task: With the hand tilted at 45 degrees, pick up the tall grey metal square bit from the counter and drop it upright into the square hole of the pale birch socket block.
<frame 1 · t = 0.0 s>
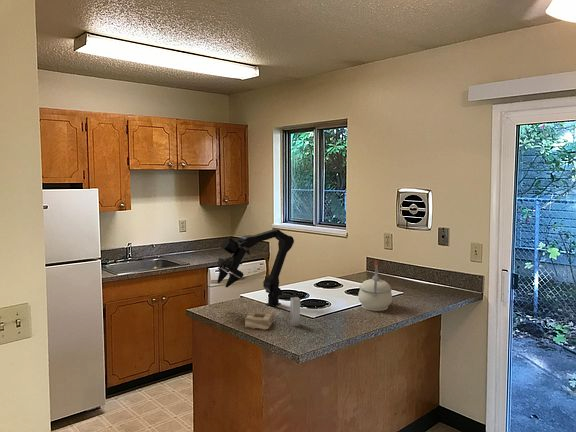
hand: (222, 285, 238), 15 cm above the worktop, tool tilted 35°, fingers open, 9 cm apart
socket block: (259, 324, 225), on the worktop
square bit: (294, 324, 226), on the worktop
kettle: (374, 306, 259), on the worktop
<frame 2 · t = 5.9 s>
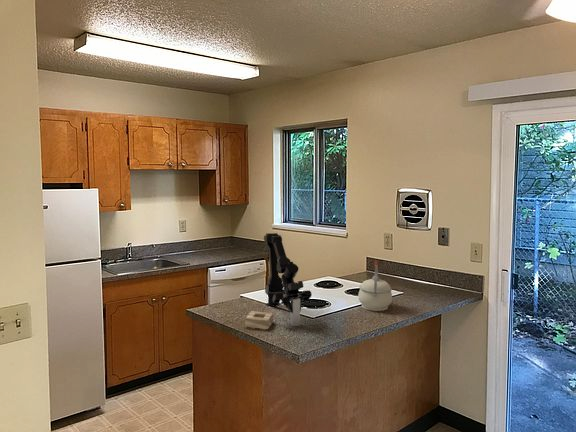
hand: (296, 312, 224), 7 cm above the worktop, tool tilted 45°, fingers closed on square bit, 4 cm apart
square bit: (294, 324, 226), on the worktop, touching gripper
everything else where it was.
when the fingers open (8 cm above the worktop, at t = 10.2 s): square bit drops 1 cm, resting on socket block.
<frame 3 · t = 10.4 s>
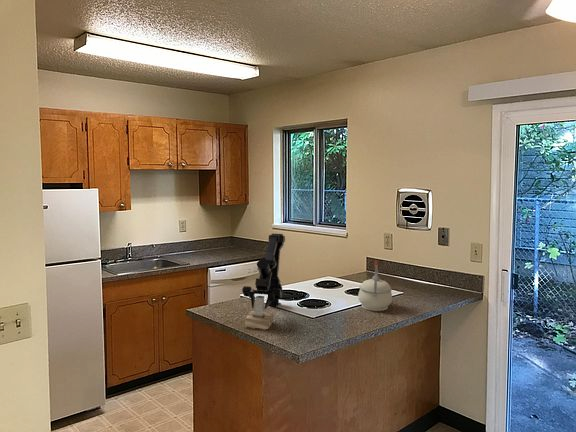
hand: (258, 308, 222), 9 cm above the worktop, tool tilted 45°, fingers open, 6 cm apart
square bit: (259, 323, 224), point 1 cm above the worktop, touching socket block
everything else where it was.
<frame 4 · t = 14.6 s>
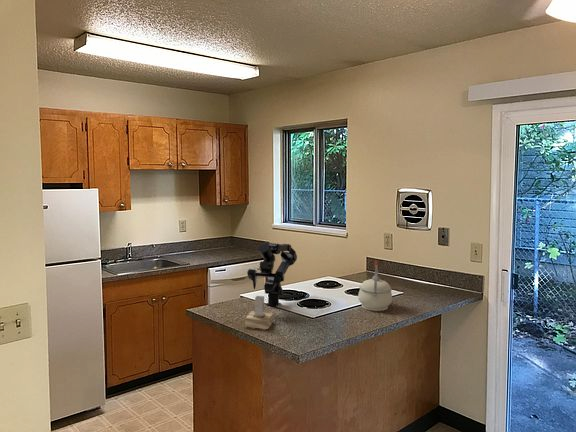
hand: (263, 289, 237), 14 cm above the worktop, tool tilted 45°, fingers open, 9 cm apart
nothing on the worktop moved.
at the end: square bit 0.1 cm off-centre on the socket block, point 0.6 cm above the socket block's base; square bit tilted 0°; the gripper is holding nothing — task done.
